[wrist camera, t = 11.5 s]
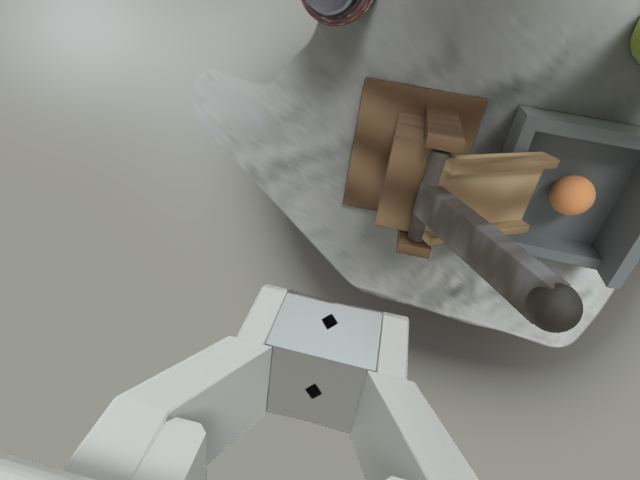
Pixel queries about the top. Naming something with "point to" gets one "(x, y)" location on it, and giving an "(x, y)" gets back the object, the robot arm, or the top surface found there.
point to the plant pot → (636, 42)
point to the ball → (572, 195)
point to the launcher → (494, 229)
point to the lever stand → (405, 148)
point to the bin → (607, 178)
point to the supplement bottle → (336, 10)
